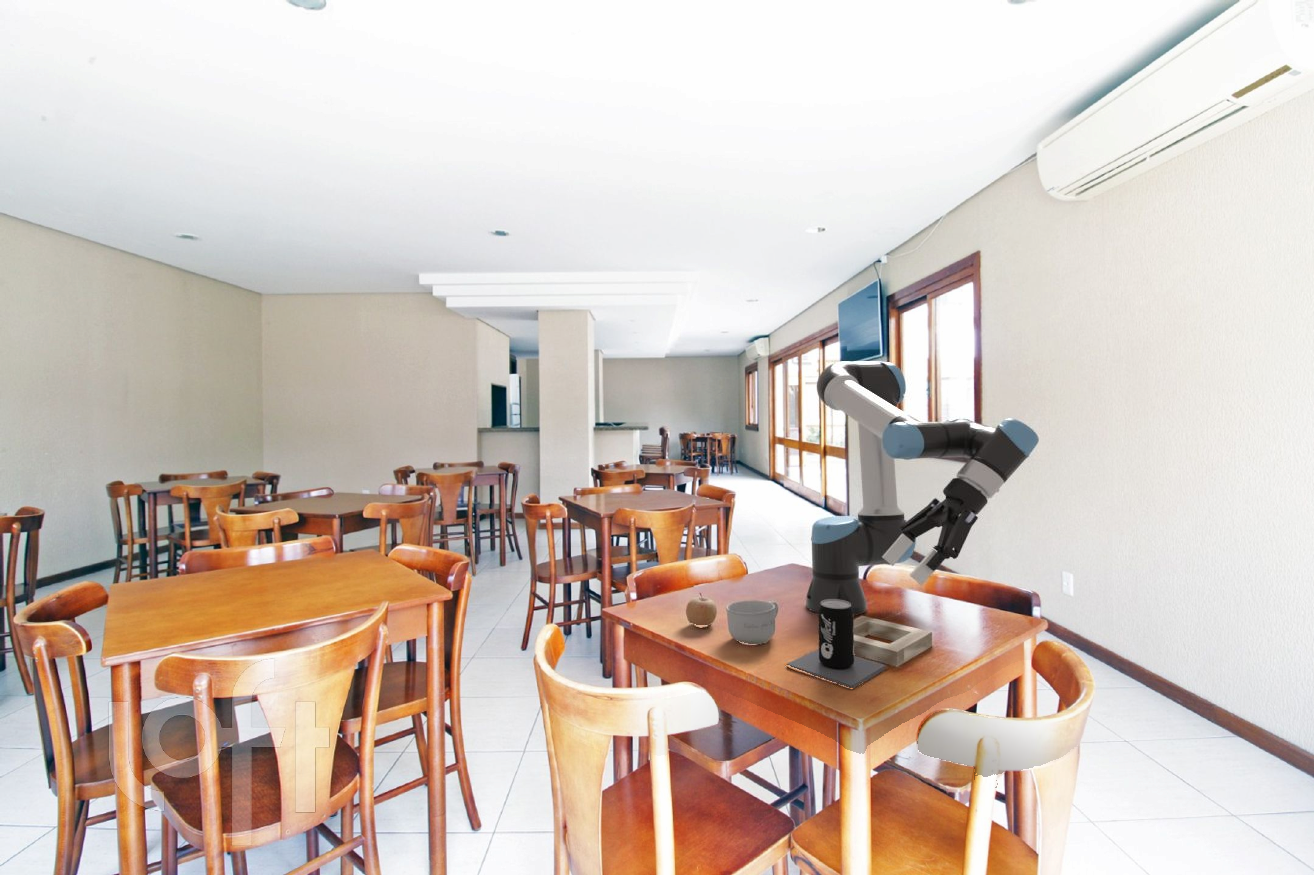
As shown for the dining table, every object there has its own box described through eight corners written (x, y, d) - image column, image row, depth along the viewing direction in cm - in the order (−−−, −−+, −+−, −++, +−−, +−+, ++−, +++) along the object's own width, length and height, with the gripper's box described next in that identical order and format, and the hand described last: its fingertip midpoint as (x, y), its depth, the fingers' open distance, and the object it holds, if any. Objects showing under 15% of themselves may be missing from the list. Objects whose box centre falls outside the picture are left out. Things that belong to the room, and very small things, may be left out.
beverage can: (856, 671, 113) (855, 608, 113) (820, 669, 115) (819, 607, 114) (851, 658, 120) (851, 598, 120) (817, 656, 121) (817, 597, 121)
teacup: (745, 653, 126) (745, 615, 126) (717, 637, 136) (716, 602, 135) (797, 641, 132) (796, 605, 132) (766, 627, 142) (766, 593, 142)
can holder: (825, 646, 129) (824, 632, 129) (862, 628, 140) (862, 615, 140) (897, 666, 117) (897, 651, 117) (932, 645, 128) (932, 631, 128)
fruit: (681, 623, 146) (680, 591, 146) (708, 619, 149) (707, 587, 148) (694, 633, 139) (694, 599, 139) (722, 628, 141) (722, 595, 141)
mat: (786, 667, 118) (786, 663, 118) (822, 650, 127) (822, 646, 127) (851, 689, 108) (851, 685, 108) (886, 669, 116) (886, 664, 116)
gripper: (1025, 511, 105) (945, 603, 106) (954, 491, 130) (890, 565, 131) (993, 484, 105) (913, 576, 106) (928, 469, 130) (864, 543, 130)
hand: (900, 570), depth 118 cm, fingers open, 13 cm apart
